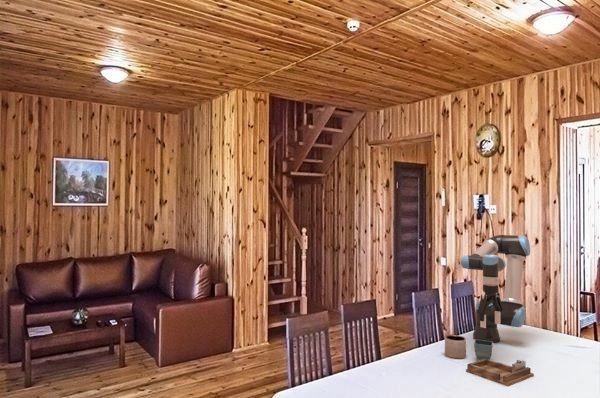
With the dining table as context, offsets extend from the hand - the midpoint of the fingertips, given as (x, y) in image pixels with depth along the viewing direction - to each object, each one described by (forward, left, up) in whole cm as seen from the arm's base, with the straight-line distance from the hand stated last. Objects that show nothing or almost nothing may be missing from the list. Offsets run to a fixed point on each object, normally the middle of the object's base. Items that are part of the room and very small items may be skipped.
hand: (490, 325), depth 228 cm
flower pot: (-2, -3, -18) cm, 18 cm away
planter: (-14, -10, -18) cm, 25 cm away
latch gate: (+21, -10, -16) cm, 28 cm away
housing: (+14, -15, -18) cm, 27 cm away
